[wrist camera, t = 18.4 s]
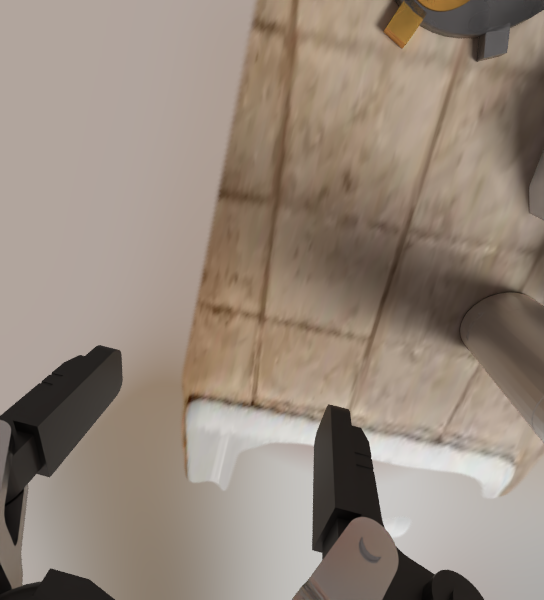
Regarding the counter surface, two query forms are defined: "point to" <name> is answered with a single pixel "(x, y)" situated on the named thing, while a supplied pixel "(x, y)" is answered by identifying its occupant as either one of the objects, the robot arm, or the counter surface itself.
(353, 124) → the counter surface
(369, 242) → the counter surface
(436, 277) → the counter surface
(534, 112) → the counter surface
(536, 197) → the toilet tissue
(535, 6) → the sprocket plate
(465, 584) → the robot arm
